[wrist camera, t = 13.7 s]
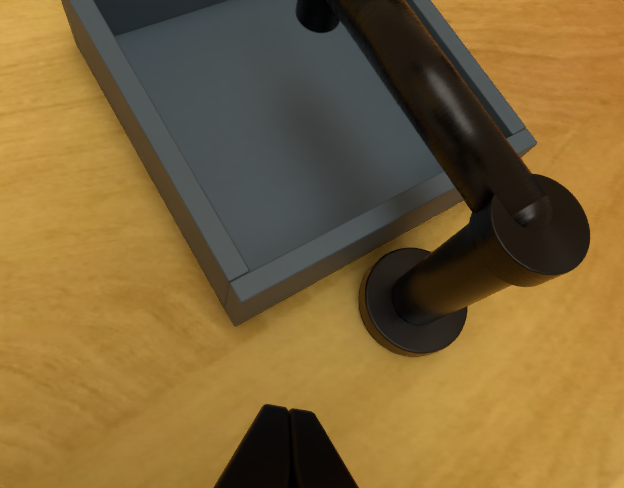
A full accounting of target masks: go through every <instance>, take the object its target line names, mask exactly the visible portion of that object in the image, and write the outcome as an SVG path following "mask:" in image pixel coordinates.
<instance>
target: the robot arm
mask: <svg viewBox="0 0 624 488" xmlns="http://www.w3.org/2000/svg"><path fill="white" fill-rule="evenodd" d="M213 488H359V487H358V486H357V484H356V482H355V481H354V479H353V477H352V476H351V474H350V472H349V471H348V469H347V467H346V465H345V464H344V462H343V460H342V459H341V457H340V455H339V454H338V452H337V450H336V449H335V447H334V445H333V444H332V442H331V440H330V439H329V437H328V435H327V434H326V432H325V430H324V429H323V427H322V425H321V424H320V422H319V420H318V419H317V417H316V415H315V414H314V413H313V412H311V411H306V410H300V409H294V408H292V409H290V410H289V411H288V409H287V408H286V407H282V406H276V405H270V404H265V405H264V406H262V408H261V410H260V411H259V413H258V414H257V416H256V418H255V419H254V421H253V423H252V424H251V426H250V428H249V429H248V431H247V433H246V434H245V436H244V438H243V439H242V441H241V443H240V444H239V446H238V448H237V449H236V451H235V453H234V454H233V456H232V458H231V459H230V461H229V463H228V464H227V466H226V468H225V469H224V471H223V473H222V474H221V476H220V478H219V479H218V481H217V482H216V484H215V486H214V487H213Z"/></svg>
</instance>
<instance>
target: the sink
mask: <svg viewBox="0 0 624 488" xmlns="http://www.w3.org/2000/svg"><path fill="white" fill-rule="evenodd" d="M61 1H62V4H63V7H64V10H65V13H66V16H67V19H68V22H69V25H70V27H71V30H72V33H73V36H74V39H75V42H76V44H77V46H78V48H79V50H80V51H81V53H82V55H83V57H84V59H85V60H86V62H87V64H88V66H89V67H90V69H91V71H92V73H93V75H94V76H95V78H96V80H97V82H98V84H99V85H100V87H101V89H102V91H103V93H104V94H105V96H106V98H107V100H108V101H109V103H110V105H111V107H112V109H113V110H114V112H115V114H116V116H117V118H118V119H119V121H120V123H121V125H122V126H123V128H124V130H125V132H126V134H127V135H128V137H129V139H130V141H131V143H132V144H133V146H134V148H135V150H136V152H137V153H138V155H139V157H140V159H141V160H142V162H143V164H144V166H145V168H146V169H147V171H148V173H149V175H150V177H151V178H152V180H153V182H154V184H155V185H156V187H157V189H158V191H159V193H160V194H161V196H162V198H163V200H164V202H165V203H166V205H167V207H168V209H169V211H170V212H171V214H172V216H173V218H174V219H175V221H176V223H177V225H178V227H179V228H180V230H181V232H182V234H183V236H184V237H185V239H186V241H187V243H188V245H189V246H190V248H191V250H192V252H193V253H194V255H195V257H196V259H197V261H198V262H199V264H200V266H201V268H202V270H203V271H204V273H205V275H206V277H207V278H208V280H209V282H210V284H211V286H212V287H213V289H214V291H215V293H216V295H217V296H218V298H219V300H220V302H221V304H222V305H223V307H224V309H225V311H226V312H227V314H228V316H229V318H230V320H231V321H232V323H233V325H234V326H237V325H239V324H241V323H243V322H245V321H246V320H248V319H250V318H252V317H254V316H255V315H257V314H259V313H261V312H263V311H264V310H266V309H268V308H270V307H272V306H273V305H275V304H277V303H279V302H281V301H282V300H284V299H286V298H288V297H290V296H291V295H293V294H295V293H297V292H299V291H300V290H302V289H304V288H306V287H308V286H309V285H311V284H313V283H315V282H317V281H318V280H320V279H322V278H324V277H326V276H327V275H329V274H331V273H333V272H335V271H336V270H338V269H340V268H342V267H344V266H345V265H347V264H349V263H351V262H353V261H355V260H356V259H358V258H360V257H362V256H364V255H365V254H367V253H369V252H371V251H373V250H374V249H376V248H378V247H380V246H382V245H383V244H385V243H387V242H389V241H391V240H392V239H394V238H396V237H398V236H400V235H401V234H403V233H405V232H407V231H409V230H410V229H412V228H414V227H416V226H418V225H419V224H421V223H423V222H425V221H427V220H428V219H430V218H432V217H434V216H436V215H437V214H439V213H441V212H443V211H445V210H446V209H448V208H450V207H452V206H454V205H455V204H457V203H459V202H461V201H463V200H464V199H463V198H462V197H461V195H460V194H459V192H458V191H457V189H456V188H455V186H454V185H453V184H452V182H451V181H450V179H449V178H448V176H447V175H446V173H445V172H444V170H443V169H442V168H441V166H440V165H439V163H438V162H437V160H436V159H435V157H434V156H433V155H432V153H431V152H430V150H429V149H428V147H427V146H426V144H425V143H424V142H423V140H422V139H421V137H420V136H419V134H418V133H417V131H416V130H415V128H414V127H413V126H412V124H411V123H410V121H409V120H408V118H407V117H406V115H405V114H404V113H403V111H402V110H401V108H400V107H399V105H398V104H397V102H396V101H395V99H394V98H393V97H392V95H391V94H390V92H389V91H388V89H387V88H386V86H385V85H384V84H383V82H382V81H381V79H380V78H379V76H378V75H377V73H376V72H375V70H374V69H373V68H372V66H371V65H370V63H369V62H368V60H367V59H366V57H365V56H364V55H363V53H362V52H361V50H360V49H359V47H358V46H357V44H356V43H355V42H354V40H353V39H352V37H351V36H350V34H349V33H348V31H347V30H346V28H345V27H344V26H343V24H342V23H341V21H340V23H339V25H338V26H337V27H336V28H335V29H334V30H333V31H331V32H328V33H315V32H312V31H310V30H308V29H306V28H305V27H303V26H302V25H301V24H300V22H299V21H298V19H297V17H296V13H295V9H296V4H297V0H61ZM405 1H406V2H407V4H408V5H409V6H410V8H411V9H412V10H413V12H414V13H415V14H416V16H417V17H418V19H419V20H420V21H421V23H422V24H423V25H424V27H425V28H426V30H427V31H428V32H429V34H430V35H431V36H432V38H433V39H434V40H435V42H436V43H437V45H438V46H439V47H440V49H441V50H442V51H443V53H444V54H445V56H446V57H447V58H448V60H449V61H450V62H451V64H452V65H453V66H454V68H455V69H456V71H457V72H458V73H459V75H460V76H461V77H462V79H463V80H464V82H465V83H466V84H467V86H468V87H469V88H470V90H471V91H472V92H473V94H474V95H475V97H476V98H477V99H478V101H479V102H480V103H481V105H482V106H483V107H484V109H485V110H486V112H487V113H488V114H489V116H490V117H491V118H492V120H493V121H494V123H495V124H496V125H497V127H498V128H499V129H500V131H501V132H502V133H503V135H504V136H505V138H506V139H507V140H508V142H509V143H510V144H511V146H512V147H513V149H514V150H515V151H516V153H517V154H518V155H519V157H520V158H521V157H522V156H523V155H525V154H526V153H527V152H528V151H529V150H530V149H532V148H533V147H534V146H535V145H536V144H537V141H536V140H535V139H534V137H533V136H532V135H531V133H530V132H529V131H528V129H525V128H526V126H525V125H524V124H523V122H522V121H521V120H520V118H519V117H518V116H517V114H516V113H515V112H514V110H513V109H512V108H511V106H510V105H509V104H508V102H507V101H506V100H505V98H504V97H503V96H502V94H501V93H500V92H499V90H498V89H497V88H496V86H495V85H494V84H493V82H492V81H491V80H490V78H489V77H488V76H487V74H486V73H485V72H484V70H483V69H482V68H481V67H480V65H479V64H478V63H477V61H476V60H475V59H474V57H473V56H472V55H471V53H470V52H469V51H468V49H467V48H466V47H465V45H464V44H463V43H462V41H461V40H460V39H459V37H458V36H457V35H456V33H455V32H454V31H453V29H452V28H451V27H450V25H449V24H448V23H447V21H446V20H445V19H444V17H443V16H442V15H441V13H440V12H439V11H438V10H437V8H436V7H435V6H434V4H433V3H432V2H431V0H405Z"/></svg>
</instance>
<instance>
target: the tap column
mask: <svg viewBox="0 0 624 488" xmlns="http://www.w3.org/2000/svg"><path fill="white" fill-rule="evenodd" d="M509 286H511V284H508V283H505V282H503V281H501V280H499V279H498V278H496V277H495V276H493V275H492V274H491V273H490V272H489V271H487V270H486V268H485V267H484V266H483V265H482V264H481V263H480V261H479V260H478V258H477V257H476V255H475V253H474V251H473V248H472V245H471V242H470V237H469V224H468V225H466V226H465V227H464V228H462V229H461V230H460V231H459V232H457V233H456V234H455V235H454V236H452V237H451V238H450V239H448V240H447V241H446V242H445V243H443V244H442V245H441V246H439V247H438V248H437V249H436V250H434V251H433V252H432V253H431V252H429V251H426V250H423V249H418V248H402V249H397V250H394V251H392V252H390V253H388V254H386V255H384V256H383V257H382V258H380V259H379V260H378V261H377V262H376V263H375V264H374V265H373V266H372V267H371V268H370V269H369V271H368V272H367V273H366V275H365V277H364V279H363V281H362V284H361V287H360V292H359V307H360V312H361V316H362V319H363V321H364V324H365V326H366V327H367V329H368V331H369V332H370V334H371V335H372V336H373V337H374V338H375V339H376V340H377V341H378V342H379V343H380V344H381V345H382V346H384V347H385V348H387V349H388V350H390V351H392V352H394V353H397V354H400V355H404V356H412V357H417V356H424V355H428V354H431V353H434V352H437V351H439V350H442V349H444V348H445V347H447V346H449V345H450V344H451V343H452V342H453V341H454V340H455V339H456V338H457V337H458V336H459V334H460V332H461V331H462V329H463V326H464V324H465V321H466V317H467V306H468V305H470V304H473V303H475V302H477V301H479V300H481V299H483V298H485V297H488V296H490V295H492V294H494V293H496V292H498V291H500V290H502V289H505V288H507V287H509Z"/></svg>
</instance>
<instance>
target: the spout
mask: <svg viewBox="0 0 624 488" xmlns="http://www.w3.org/2000/svg"><path fill="white" fill-rule="evenodd" d="M295 13H296V17H297V19H298V21H299V22H300V24H301V25H302V26H303V27H305V28H306V29H308V30H310V31H312V32H315V33H328V32H331V31H333V30H334V29H335V28H336V27H337V26H338V25H339V23H340V21H341V23H342V24H343V26H344V27H345V28H346V30H347V31H348V33H349V34H350V36H351V37H352V39H353V40H354V42H355V43H356V44H357V46H358V47H359V49H360V50H361V52H362V53H363V55H364V56H365V57H366V59H367V60H368V62H369V63H370V65H371V66H372V68H373V69H374V70H375V72H376V73H377V75H378V76H379V78H380V79H381V81H382V82H383V84H384V85H385V86H386V88H387V89H388V91H389V92H390V94H391V95H392V97H393V98H394V99H395V101H396V102H397V104H398V105H399V107H400V108H401V110H402V111H403V113H404V114H405V115H406V117H407V118H408V120H409V121H410V123H411V124H412V126H413V127H414V128H415V130H416V131H417V133H418V134H419V136H420V137H421V139H422V140H423V142H424V143H425V144H426V146H427V147H428V149H429V150H430V152H431V153H432V155H433V156H434V157H435V159H436V160H437V162H438V163H439V165H440V166H441V168H442V169H443V170H444V172H445V173H446V175H447V176H448V178H449V179H450V181H451V182H452V184H453V185H454V186H455V188H456V189H457V191H458V192H459V194H460V195H461V197H462V198H463V199H464V201H465V202H466V204H467V205H468V207H469V208H470V210H471V211H472V214H471V217H470V222H469V237H470V242H471V245H472V248H473V251H474V253H475V255H476V257H477V258H478V260H479V261H480V263H481V264H482V265H483V266H484V267H485V268H486V270H487V271H489V272H490V273H491V274H492V275H493V276H495V277H496V278H498V279H499V280H501V281H503V282H505V283H508V284H511V285H515V286H520V287H531V286H537V285H539V284H542V283H544V282H547V281H549V280H551V279H554V278H556V277H558V276H561V275H563V274H565V273H568V272H570V271H571V270H573V269H575V268H576V267H577V266H578V265H579V264H580V263H581V262H582V261H583V259H584V257H585V256H586V254H587V251H588V248H589V244H590V229H589V223H588V220H587V217H586V215H585V212H584V210H583V208H582V206H581V205H580V203H579V202H578V200H577V199H576V198H575V197H574V196H573V194H572V193H571V192H570V191H569V190H567V189H566V188H565V187H564V186H562V185H561V184H559V183H558V182H556V181H554V180H553V179H551V178H548V177H545V176H542V175H538V174H532V173H531V172H530V170H529V169H528V168H527V166H526V165H525V164H524V162H523V161H522V159H521V158H520V157H519V155H518V154H517V153H516V151H515V150H514V149H513V147H512V146H511V144H510V143H509V142H508V140H507V139H506V138H505V136H504V135H503V133H502V132H501V131H500V129H499V128H498V127H497V125H496V124H495V123H494V121H493V120H492V118H491V117H490V116H489V114H488V113H487V112H486V110H485V109H484V107H483V106H482V105H481V103H480V102H479V101H478V99H477V98H476V97H475V95H474V94H473V92H472V91H471V90H470V88H469V87H468V86H467V84H466V83H465V82H464V80H463V79H462V77H461V76H460V75H459V73H458V72H457V71H456V69H455V68H454V66H453V65H452V64H451V62H450V61H449V60H448V58H447V57H446V56H445V54H444V53H443V51H442V50H441V49H440V47H439V46H438V45H437V43H436V42H435V40H434V39H433V38H432V36H431V35H430V34H429V32H428V31H427V30H426V28H425V27H424V25H423V24H422V23H421V21H420V20H419V19H418V17H417V16H416V14H415V13H414V12H413V10H412V9H411V8H410V6H409V5H408V4H407V2H406V1H405V0H297V4H296V9H295Z"/></svg>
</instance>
